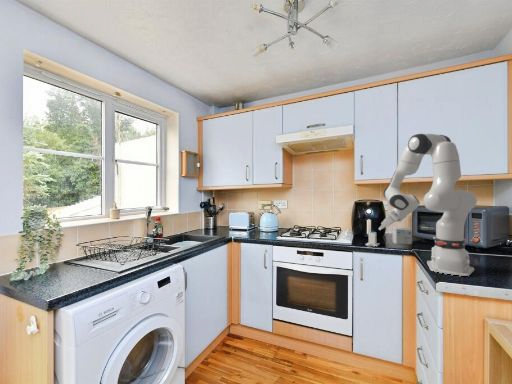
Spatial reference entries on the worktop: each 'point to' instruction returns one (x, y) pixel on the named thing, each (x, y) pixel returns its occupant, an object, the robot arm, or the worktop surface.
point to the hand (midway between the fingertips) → (380, 228)
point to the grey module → (372, 238)
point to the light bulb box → (402, 235)
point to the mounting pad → (372, 245)
